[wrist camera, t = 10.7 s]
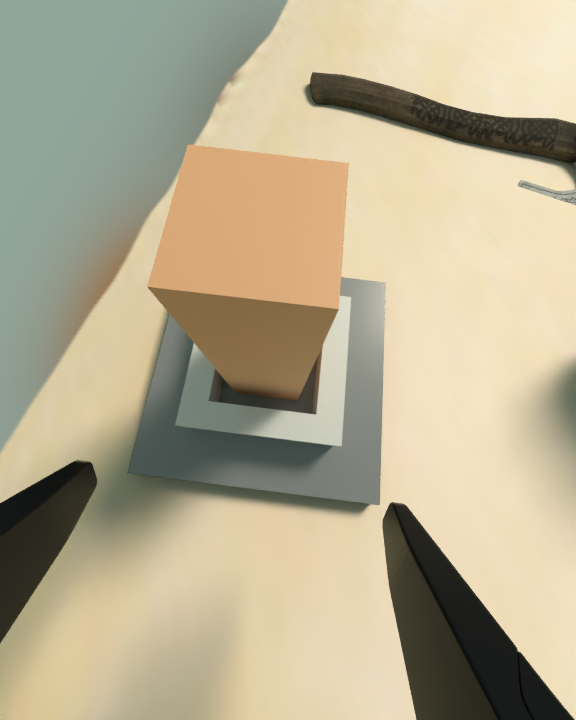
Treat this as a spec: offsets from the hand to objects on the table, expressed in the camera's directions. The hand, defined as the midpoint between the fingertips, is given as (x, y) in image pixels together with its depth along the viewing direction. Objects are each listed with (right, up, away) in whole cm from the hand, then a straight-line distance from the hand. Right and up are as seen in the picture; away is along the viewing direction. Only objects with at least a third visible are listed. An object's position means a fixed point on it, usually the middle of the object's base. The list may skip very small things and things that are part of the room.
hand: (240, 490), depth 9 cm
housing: (0, +3, +12) cm, 12 cm away
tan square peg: (0, +3, +10) cm, 11 cm away
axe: (+17, +25, +19) cm, 36 cm away
